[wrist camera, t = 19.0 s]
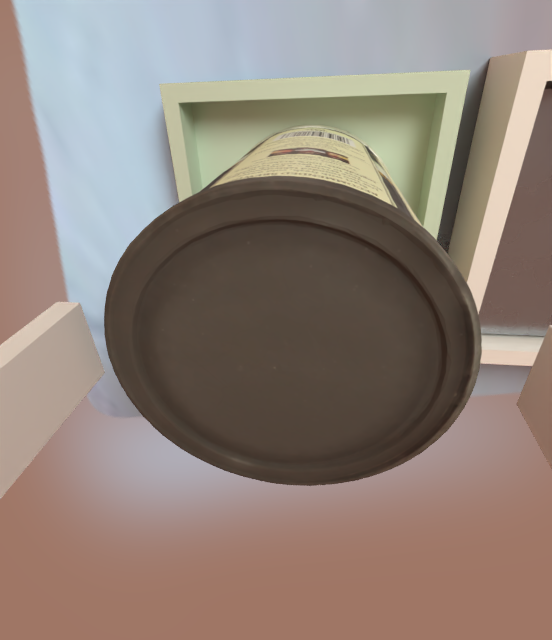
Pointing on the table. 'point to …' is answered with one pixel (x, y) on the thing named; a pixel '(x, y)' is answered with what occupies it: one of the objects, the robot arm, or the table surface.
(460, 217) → the checker cradle
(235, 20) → the table surface
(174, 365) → the coffee can
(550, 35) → the table surface
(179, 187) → the tray
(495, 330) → the plate
